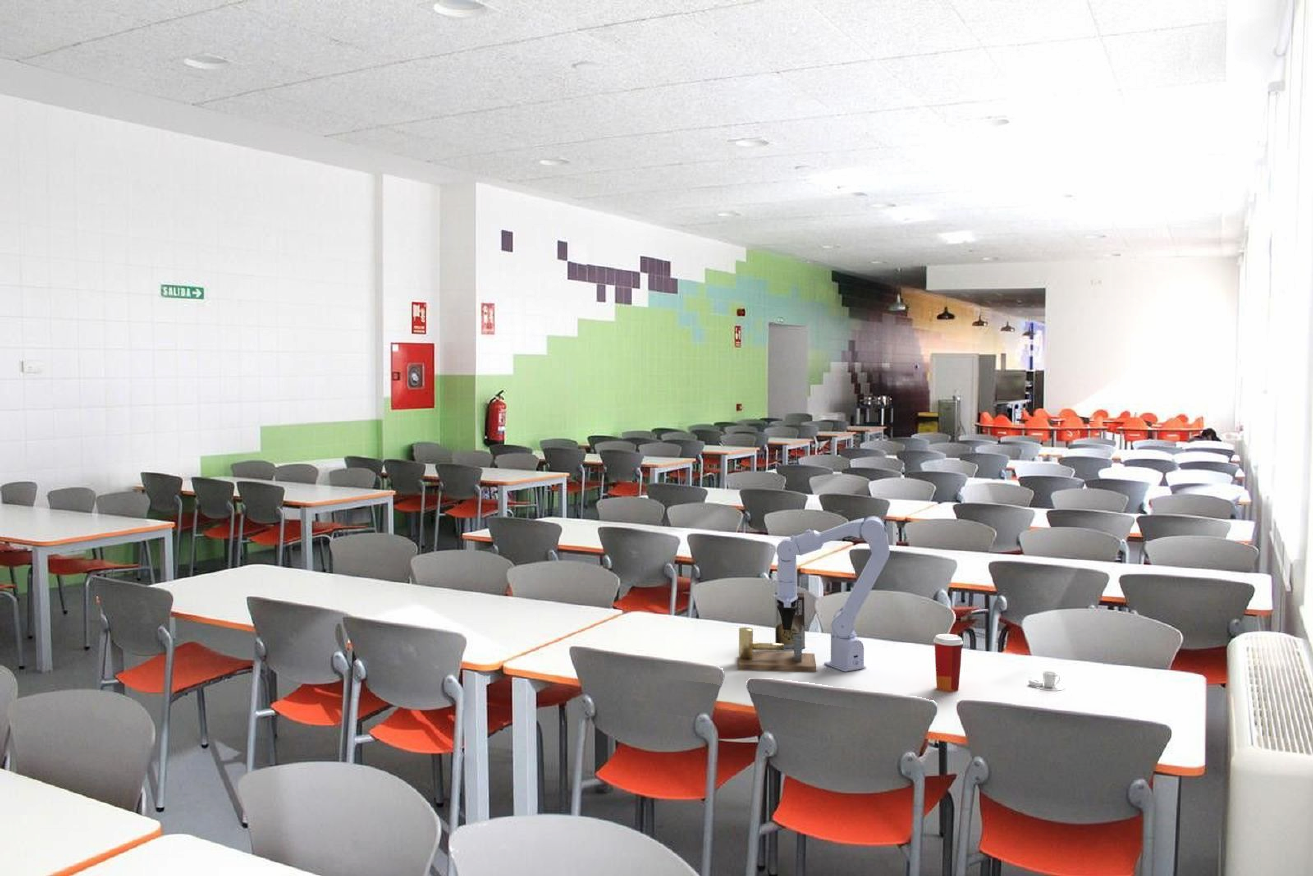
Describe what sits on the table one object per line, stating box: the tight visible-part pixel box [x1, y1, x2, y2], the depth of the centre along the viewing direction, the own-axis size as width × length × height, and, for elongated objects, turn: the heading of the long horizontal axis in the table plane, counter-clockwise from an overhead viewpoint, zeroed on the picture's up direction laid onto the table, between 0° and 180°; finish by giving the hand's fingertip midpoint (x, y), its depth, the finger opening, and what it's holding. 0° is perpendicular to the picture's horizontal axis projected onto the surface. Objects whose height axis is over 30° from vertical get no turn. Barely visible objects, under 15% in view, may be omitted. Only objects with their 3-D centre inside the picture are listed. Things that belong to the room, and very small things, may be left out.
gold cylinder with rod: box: [738, 626, 785, 659], centre depth 300 cm, size 13×4×8 cm, turn 84°
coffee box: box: [774, 592, 806, 649], centre depth 320 cm, size 9×6×16 cm
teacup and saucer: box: [1028, 670, 1066, 692], centre depth 278 cm, size 9×8×4 cm
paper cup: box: [932, 633, 964, 693], centre depth 275 cm, size 8×8×14 cm
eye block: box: [737, 632, 817, 673], centre depth 300 cm, size 22×14×8 cm, turn 84°
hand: (786, 627), depth 301 cm, fingers open, 7 cm apart
